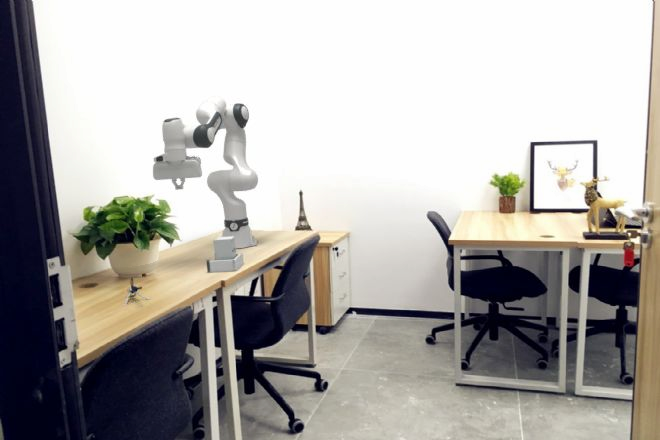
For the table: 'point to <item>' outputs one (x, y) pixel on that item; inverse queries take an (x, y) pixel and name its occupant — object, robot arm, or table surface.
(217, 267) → the tray
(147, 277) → the table surface
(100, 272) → the table surface
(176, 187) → the robot arm
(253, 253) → the table surface
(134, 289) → the figurine
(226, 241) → the supplement box
